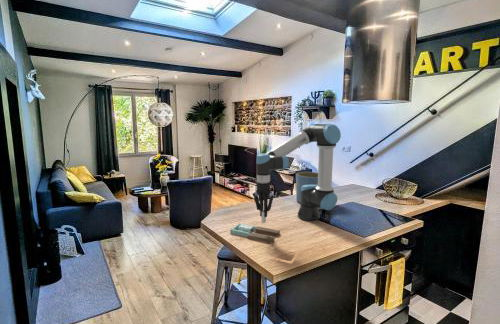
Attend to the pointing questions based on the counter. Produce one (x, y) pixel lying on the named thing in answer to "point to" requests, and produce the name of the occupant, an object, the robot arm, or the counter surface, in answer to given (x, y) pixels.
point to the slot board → (264, 234)
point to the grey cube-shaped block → (241, 227)
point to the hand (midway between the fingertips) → (263, 222)
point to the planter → (305, 182)
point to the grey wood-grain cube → (248, 229)
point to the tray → (241, 233)
